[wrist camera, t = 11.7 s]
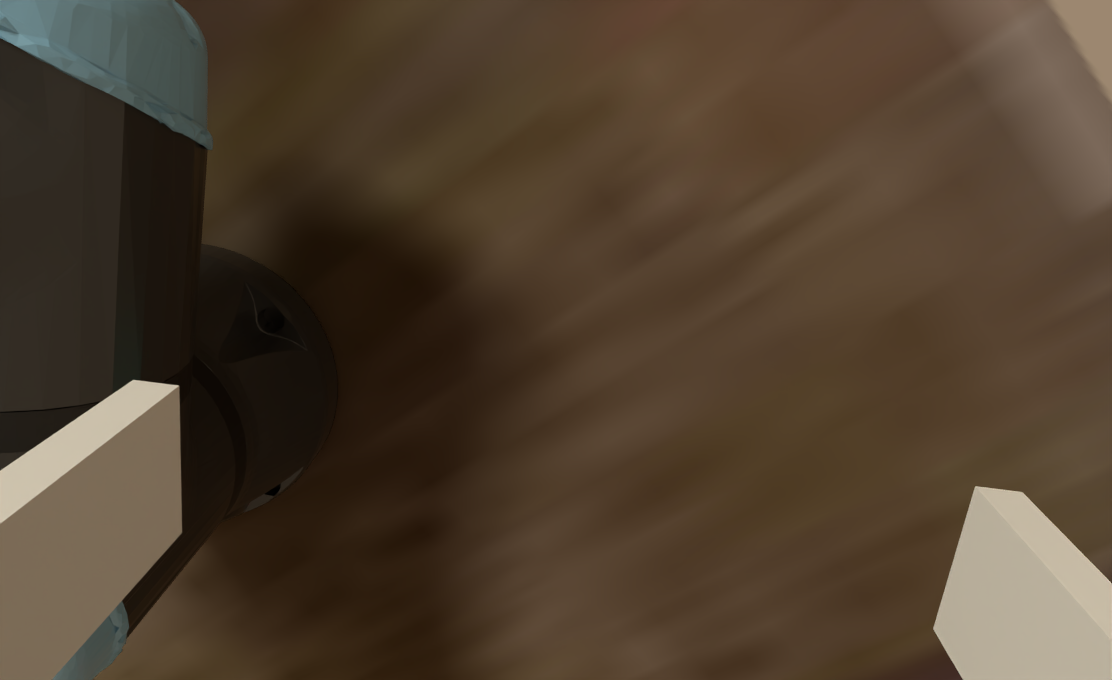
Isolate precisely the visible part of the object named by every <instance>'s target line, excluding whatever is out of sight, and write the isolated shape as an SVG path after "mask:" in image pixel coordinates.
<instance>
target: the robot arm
mask: <svg viewBox="0 0 1112 680" xmlns="http://www.w3.org/2000/svg"><path fill="white" fill-rule="evenodd" d="M207 76H208V54H207V47H206V42H205V39H204V36H203V34H202V32H201V30H200V28H199V26H198V24H197V23H196V21H195V20H194V18H193V17H192V16H191V15H190V14H189V13H188V12H187V11H186V10H185V9H184V8H183V7H182V6H181V5H180V4H178V3H177V2H176V1H174V0H0V680H92V679H93V678H94V677H95V676H96V675H97V674H98V673H99V672H101V671H102V670H104V669H105V668H107V667H108V666H109V665H110V664H112V662H113V661H114V660H115V658H116V657H117V656H118V655H119V654H120V653H121V652H122V647H123V646H124V645H125V644H126V639H127V637H128V636H129V635H130V634H131V633H132V631H133V630H134V629H135V628H136V626H137V625H138V624H139V623H140V621H141V620H142V619H143V618H144V616H145V615H146V614H147V613H148V612H149V610H150V609H151V608H152V607H153V605H154V604H155V603H156V602H157V600H158V599H159V598H160V597H161V595H162V594H163V593H164V592H165V591H166V589H167V588H168V587H169V586H170V584H171V583H172V582H173V581H174V579H175V578H176V577H177V576H178V575H179V573H180V572H181V571H182V570H183V568H184V567H185V566H186V565H187V563H188V562H189V561H190V560H191V558H192V557H193V556H194V555H195V554H196V552H197V551H198V550H199V549H200V547H201V546H202V545H203V544H204V542H205V541H206V540H207V539H208V537H209V536H210V535H211V534H212V533H213V531H214V530H215V529H216V528H217V526H218V525H219V524H220V523H221V522H224V521H226V520H228V519H231V518H233V517H235V516H238V515H240V514H242V513H244V512H246V511H249V510H252V509H254V508H256V507H259V506H261V505H263V504H265V503H267V502H269V501H271V500H272V499H274V498H275V497H277V496H278V495H280V494H281V493H282V492H284V491H285V490H286V489H288V488H289V487H290V486H291V485H292V484H293V483H294V482H295V481H296V480H297V479H298V478H299V477H300V476H301V475H302V474H303V473H304V471H305V470H306V469H307V467H308V466H309V465H310V463H311V462H312V461H313V459H314V458H315V456H316V455H317V454H318V452H319V451H320V449H321V448H322V446H323V444H324V442H325V441H326V439H327V437H328V434H329V432H330V430H331V427H332V424H333V420H334V416H335V412H336V406H337V397H338V383H337V373H336V366H335V362H334V357H333V354H332V351H331V347H330V345H329V342H328V340H327V337H326V335H325V333H324V331H323V329H322V327H321V325H320V323H319V322H318V320H317V318H316V317H315V315H314V314H313V312H312V311H311V309H310V308H309V307H308V305H307V304H306V303H305V301H304V300H303V299H302V298H301V297H300V296H299V295H298V294H297V292H296V291H295V290H294V289H293V288H291V287H290V286H289V285H288V284H287V283H286V282H285V281H284V280H283V279H281V278H280V277H279V276H277V275H276V274H275V273H273V272H272V271H271V270H269V269H267V268H266V267H264V266H263V265H261V264H259V263H257V262H256V261H254V260H252V259H250V258H248V257H245V256H243V255H241V254H238V253H236V252H233V251H230V250H227V249H224V248H220V247H215V246H211V245H205V244H201V240H202V225H203V210H204V195H205V180H206V165H207V150H212V149H213V139H212V136H211V134H210V133H209V132H208V130H207ZM933 629H934V631H935V633H936V634H937V636H938V638H939V640H940V641H941V643H942V645H943V646H944V648H945V650H946V651H947V653H948V655H949V657H950V658H951V660H952V662H953V663H954V665H955V667H956V669H957V670H958V672H959V674H960V675H961V677H962V679H963V680H1112V583H1111V582H1110V581H1109V580H1108V579H1107V578H1106V577H1105V576H1104V575H1103V574H1102V573H1101V572H1100V571H1099V570H1098V569H1097V568H1096V567H1095V566H1094V565H1093V564H1092V563H1091V562H1090V561H1089V560H1088V559H1087V558H1086V557H1085V556H1084V555H1083V554H1082V553H1081V552H1080V551H1079V550H1078V549H1077V548H1076V547H1075V546H1074V545H1073V544H1072V543H1071V542H1070V540H1069V539H1068V538H1067V537H1066V536H1065V535H1064V534H1063V533H1062V532H1061V531H1060V530H1059V529H1058V528H1057V527H1056V526H1055V525H1054V524H1053V523H1052V522H1051V521H1050V520H1049V519H1048V518H1047V517H1046V516H1045V515H1044V514H1043V513H1042V512H1041V511H1040V510H1039V509H1038V508H1037V507H1036V506H1035V505H1034V504H1033V503H1032V502H1031V501H1030V500H1029V499H1028V498H1027V497H1026V496H1025V495H1024V494H1023V493H1022V492H1016V491H1008V490H1001V489H993V488H985V487H977V486H975V489H974V492H973V496H972V499H971V502H970V506H969V509H968V513H967V516H966V519H965V523H964V526H963V530H962V533H961V536H960V540H959V543H958V547H957V550H956V553H955V557H954V560H953V564H952V567H951V570H950V574H949V577H948V581H947V584H946V587H945V591H944V594H943V598H942V601H941V604H940V608H939V611H938V614H937V618H936V621H935V625H934V628H933Z"/></svg>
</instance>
